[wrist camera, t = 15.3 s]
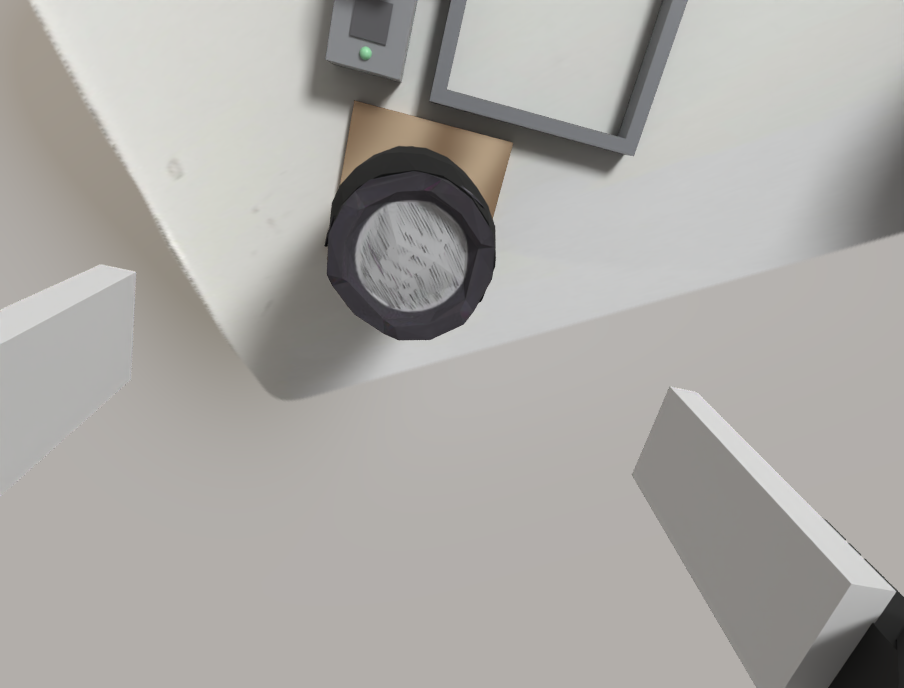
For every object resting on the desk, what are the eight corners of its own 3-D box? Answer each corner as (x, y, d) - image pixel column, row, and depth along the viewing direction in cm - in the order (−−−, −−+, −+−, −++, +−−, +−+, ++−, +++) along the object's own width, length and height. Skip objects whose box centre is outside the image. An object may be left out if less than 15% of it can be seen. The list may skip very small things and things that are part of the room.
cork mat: (512, 142, 43) (513, 142, 42) (472, 290, 47) (472, 292, 47) (355, 100, 41) (354, 100, 41) (328, 257, 46) (327, 259, 45)
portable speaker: (456, 271, 46) (476, 372, 28) (343, 235, 44) (286, 318, 26) (492, 166, 43) (541, 203, 25) (372, 124, 41) (331, 131, 23)
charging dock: (704, -80, 38) (718, -90, 36) (624, 154, 44) (633, 156, 42) (437, -170, 36) (438, -186, 34) (388, 90, 41) (386, 89, 39)
